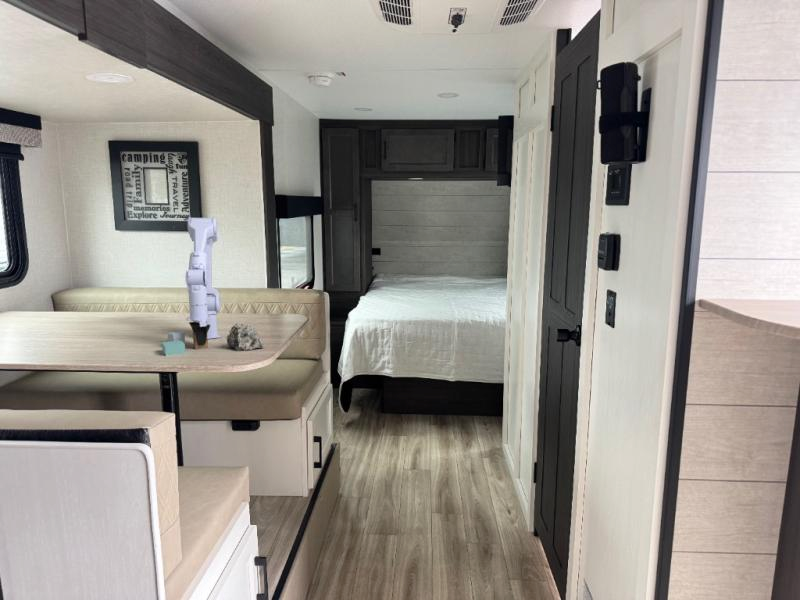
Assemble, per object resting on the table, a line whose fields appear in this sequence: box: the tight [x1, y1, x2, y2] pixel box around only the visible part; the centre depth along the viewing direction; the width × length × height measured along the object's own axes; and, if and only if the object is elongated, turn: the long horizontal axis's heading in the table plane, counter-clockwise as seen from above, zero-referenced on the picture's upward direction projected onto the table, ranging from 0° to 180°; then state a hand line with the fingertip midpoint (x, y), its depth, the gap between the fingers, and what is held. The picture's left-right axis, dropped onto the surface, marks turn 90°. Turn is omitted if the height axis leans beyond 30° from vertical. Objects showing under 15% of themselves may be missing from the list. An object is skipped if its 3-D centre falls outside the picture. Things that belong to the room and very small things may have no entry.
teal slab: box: [161, 340, 186, 356], centre depth 174 cm, size 6×6×4 cm
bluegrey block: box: [167, 330, 186, 345], centre depth 182 cm, size 4×4×5 cm
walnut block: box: [192, 332, 209, 350], centre depth 181 cm, size 4×4×5 cm
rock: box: [226, 323, 264, 351], centre depth 181 cm, size 13×10×10 cm
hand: (200, 343), depth 181 cm, fingers closed on walnut block, 4 cm apart
